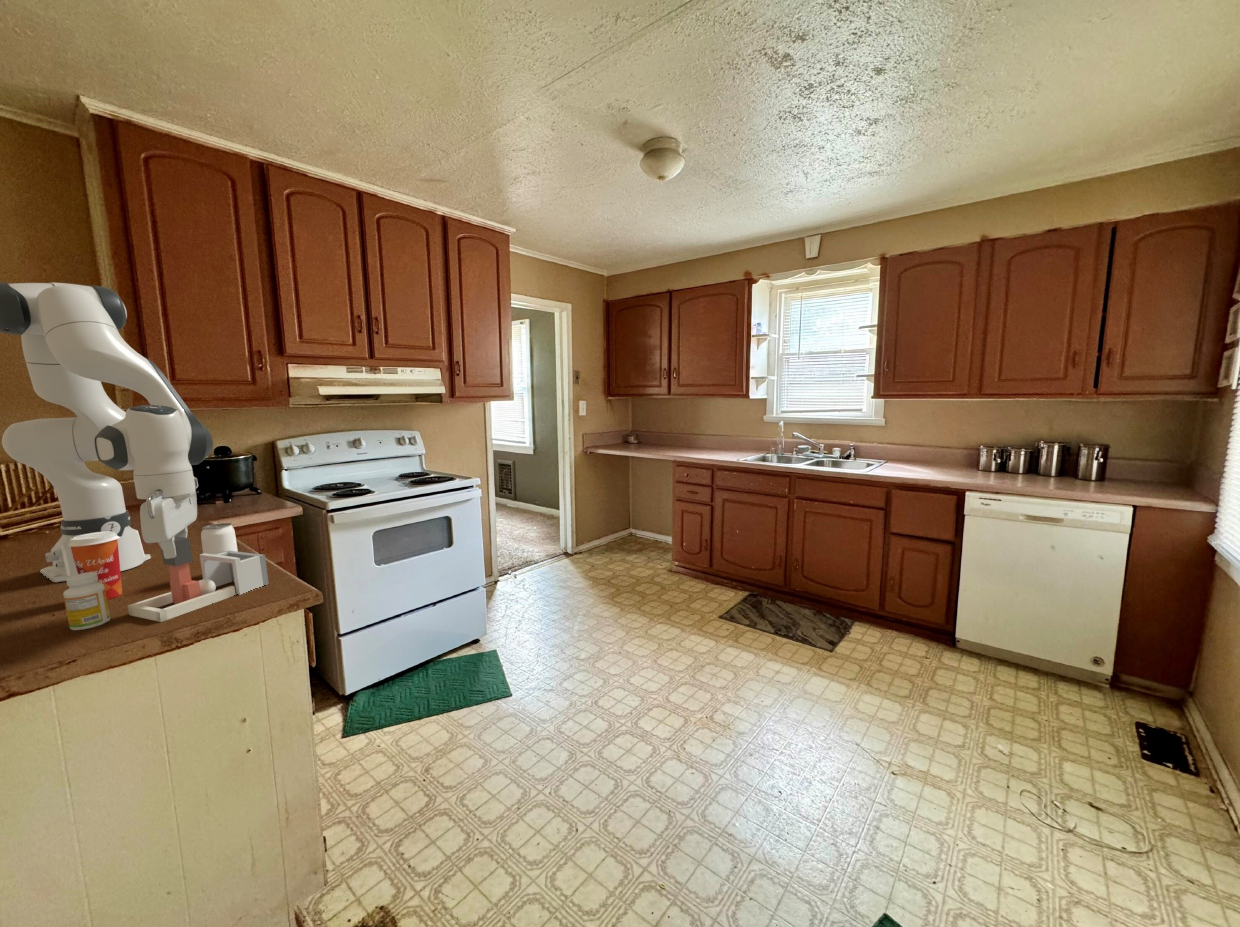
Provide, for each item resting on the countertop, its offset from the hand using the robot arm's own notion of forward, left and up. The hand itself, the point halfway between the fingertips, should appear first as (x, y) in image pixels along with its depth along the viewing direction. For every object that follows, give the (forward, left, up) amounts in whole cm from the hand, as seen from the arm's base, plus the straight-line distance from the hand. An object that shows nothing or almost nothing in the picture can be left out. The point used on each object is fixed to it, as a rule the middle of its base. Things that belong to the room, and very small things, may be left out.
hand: (176, 553), depth 103 cm
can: (-13, +15, -11) cm, 23 cm away
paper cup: (-23, -3, -11) cm, 26 cm away
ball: (0, +4, -9) cm, 10 cm away
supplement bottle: (-7, -12, -11) cm, 18 cm away
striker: (0, 0, -11) cm, 11 cm away
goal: (0, +10, -11) cm, 15 cm away
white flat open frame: (0, 0, -11) cm, 11 cm away
